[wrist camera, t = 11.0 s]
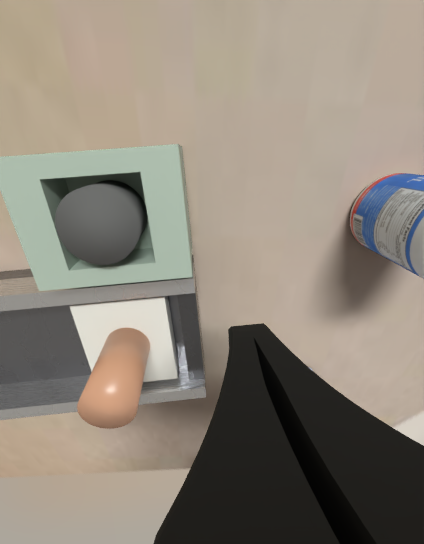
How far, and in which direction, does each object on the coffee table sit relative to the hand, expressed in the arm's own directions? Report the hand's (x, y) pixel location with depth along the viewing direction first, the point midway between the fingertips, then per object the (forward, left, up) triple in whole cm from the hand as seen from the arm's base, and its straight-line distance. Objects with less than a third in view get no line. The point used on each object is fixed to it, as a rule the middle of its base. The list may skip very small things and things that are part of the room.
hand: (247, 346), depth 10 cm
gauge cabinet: (+4, +6, -10) cm, 13 cm away
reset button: (+4, +6, -8) cm, 10 cm away
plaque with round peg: (-5, +7, -9) cm, 12 cm away
